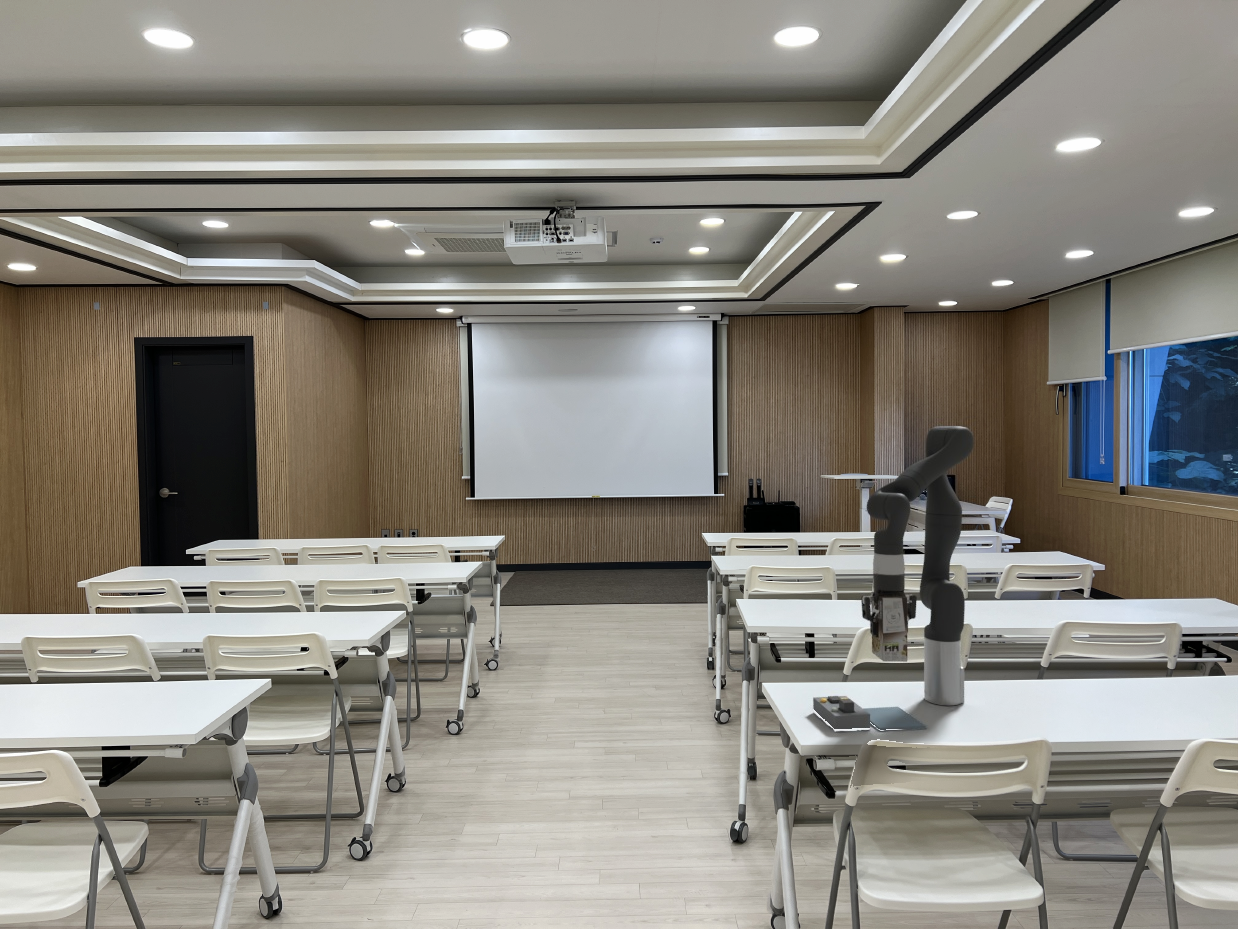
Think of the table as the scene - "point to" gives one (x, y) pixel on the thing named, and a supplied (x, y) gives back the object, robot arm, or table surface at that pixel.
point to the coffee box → (891, 628)
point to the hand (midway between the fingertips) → (889, 636)
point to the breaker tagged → (833, 699)
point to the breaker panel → (841, 714)
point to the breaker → (846, 705)
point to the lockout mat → (893, 718)
